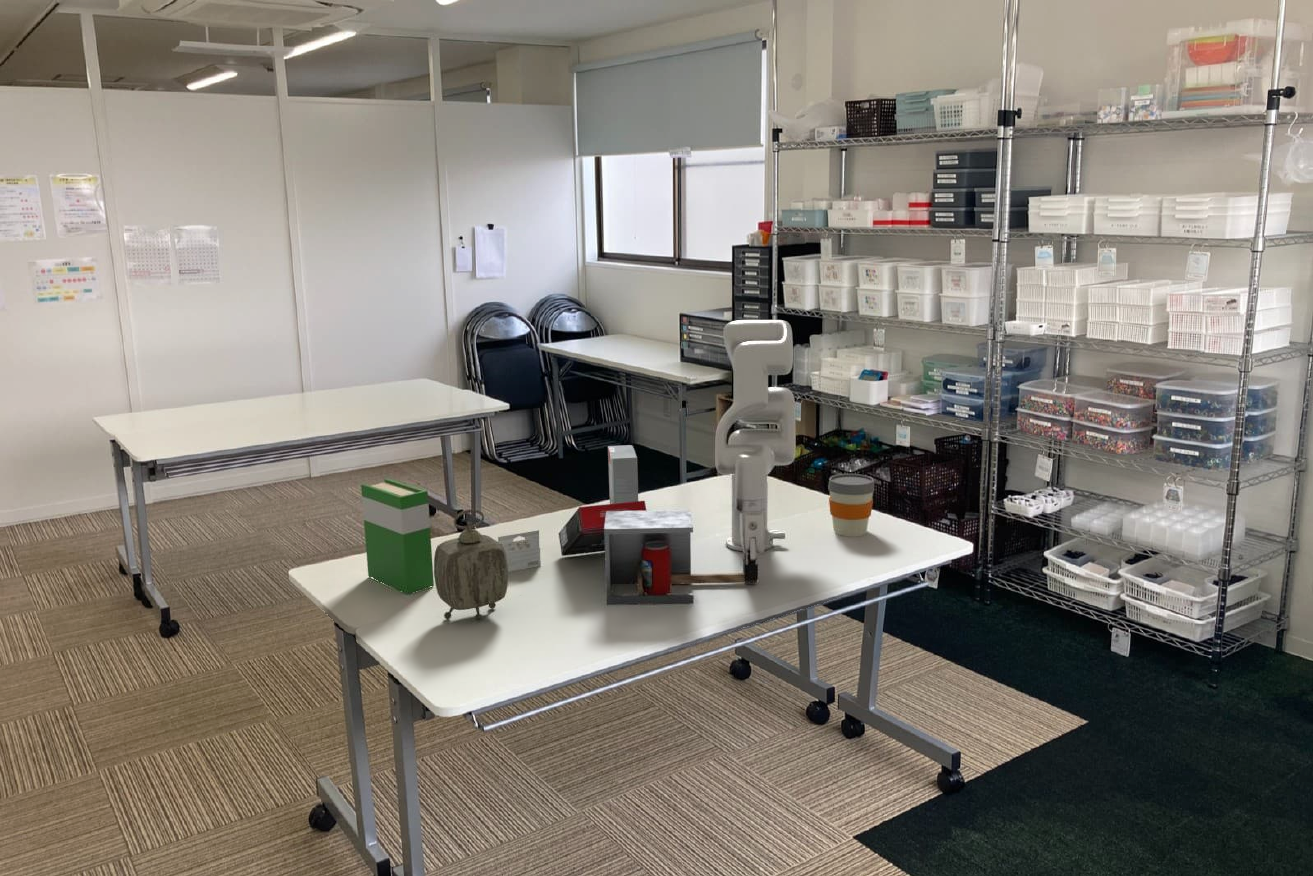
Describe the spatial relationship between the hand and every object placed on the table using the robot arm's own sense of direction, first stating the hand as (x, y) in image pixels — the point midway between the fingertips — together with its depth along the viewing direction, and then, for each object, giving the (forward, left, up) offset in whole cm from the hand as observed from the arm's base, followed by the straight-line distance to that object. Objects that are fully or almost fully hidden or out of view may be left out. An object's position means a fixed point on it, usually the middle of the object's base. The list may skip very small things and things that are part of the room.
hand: (750, 577), depth 249 cm
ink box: (+57, -14, -2) cm, 59 cm away
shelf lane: (+24, +5, -2) cm, 25 cm away
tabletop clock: (+63, +18, -2) cm, 66 cm away
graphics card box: (+39, -27, +1) cm, 48 cm away
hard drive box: (+31, -57, -2) cm, 65 cm away
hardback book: (+85, -6, -2) cm, 86 cm away
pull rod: (+13, +4, -1) cm, 14 cm away
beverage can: (+23, +5, -2) cm, 23 cm away
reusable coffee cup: (-32, -39, -2) cm, 50 cm away
